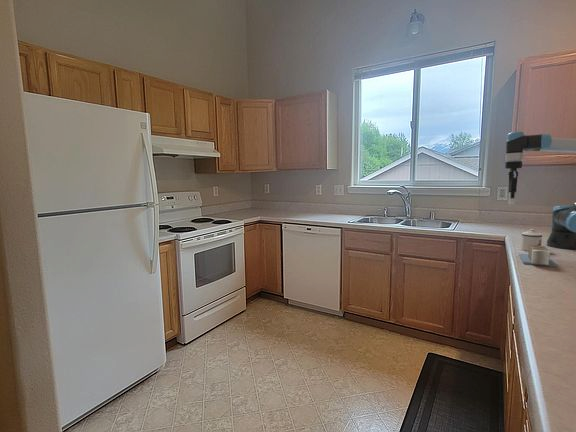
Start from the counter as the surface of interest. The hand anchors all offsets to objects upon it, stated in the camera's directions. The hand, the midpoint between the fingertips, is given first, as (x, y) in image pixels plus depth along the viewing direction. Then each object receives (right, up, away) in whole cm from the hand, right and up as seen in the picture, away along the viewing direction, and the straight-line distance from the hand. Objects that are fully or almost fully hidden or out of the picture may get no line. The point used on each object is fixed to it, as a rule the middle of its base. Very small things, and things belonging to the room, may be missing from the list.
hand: (511, 204), depth 178 cm
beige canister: (-4, -24, -22) cm, 33 cm away
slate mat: (-5, -28, -24) cm, 37 cm away
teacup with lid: (+10, -25, -1) cm, 27 cm away
